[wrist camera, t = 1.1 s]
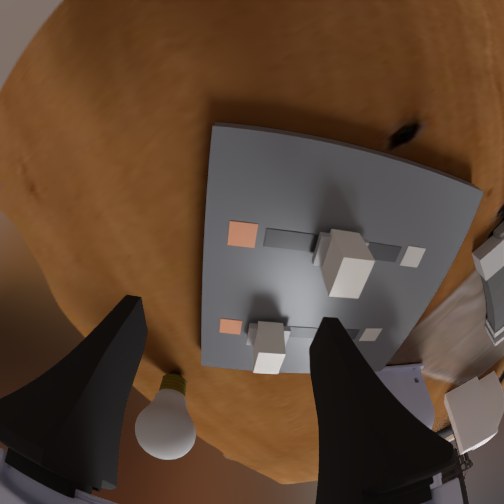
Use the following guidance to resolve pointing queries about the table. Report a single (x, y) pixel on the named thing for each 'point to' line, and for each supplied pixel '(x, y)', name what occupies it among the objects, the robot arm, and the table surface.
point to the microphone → (456, 466)
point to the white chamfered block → (475, 411)
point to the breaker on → (268, 345)
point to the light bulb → (167, 421)
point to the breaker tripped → (343, 262)
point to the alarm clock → (493, 281)
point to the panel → (306, 236)
